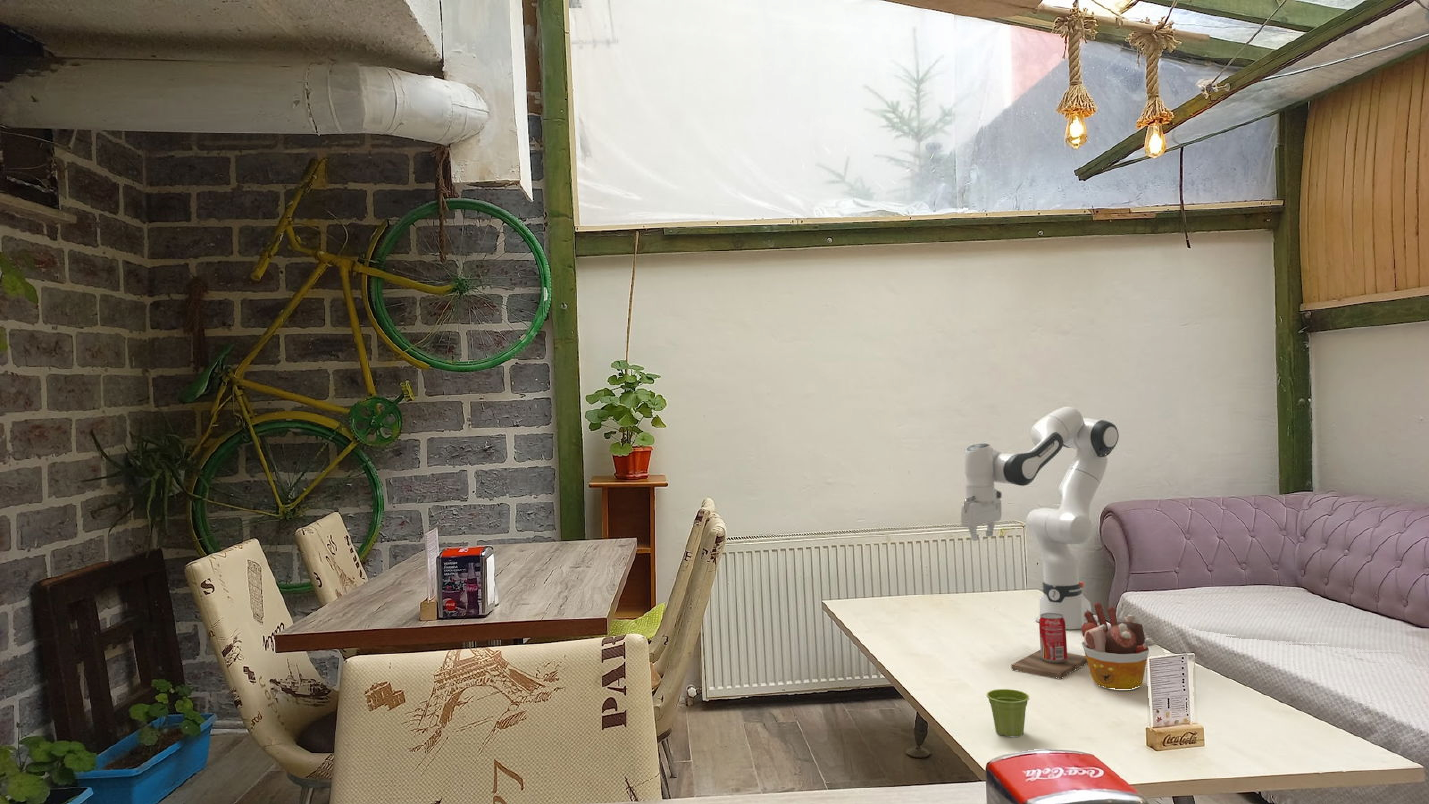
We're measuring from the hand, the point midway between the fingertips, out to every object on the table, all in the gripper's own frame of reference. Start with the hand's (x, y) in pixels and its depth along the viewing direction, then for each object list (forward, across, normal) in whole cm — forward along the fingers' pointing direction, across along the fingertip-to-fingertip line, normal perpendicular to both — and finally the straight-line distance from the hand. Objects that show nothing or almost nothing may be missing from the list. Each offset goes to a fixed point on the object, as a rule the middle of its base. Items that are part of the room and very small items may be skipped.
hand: (982, 538), depth 275 cm
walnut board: (+33, -12, -26) cm, 44 cm away
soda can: (+32, -11, -27) cm, 43 cm away
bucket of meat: (+33, -17, -46) cm, 59 cm away
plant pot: (+33, -66, -40) cm, 84 cm away
